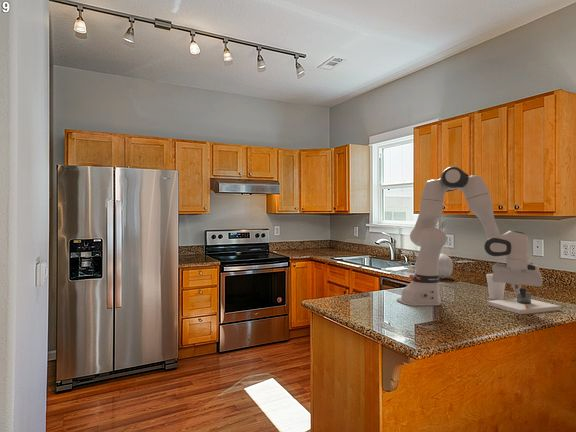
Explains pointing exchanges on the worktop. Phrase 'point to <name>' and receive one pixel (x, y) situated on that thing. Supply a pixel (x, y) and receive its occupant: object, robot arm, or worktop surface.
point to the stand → (523, 306)
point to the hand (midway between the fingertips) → (516, 293)
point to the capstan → (524, 296)
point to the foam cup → (495, 288)
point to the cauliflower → (444, 266)
